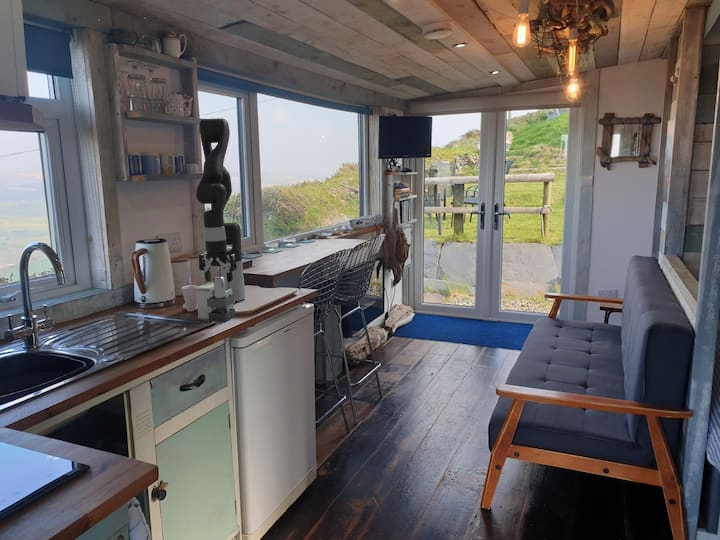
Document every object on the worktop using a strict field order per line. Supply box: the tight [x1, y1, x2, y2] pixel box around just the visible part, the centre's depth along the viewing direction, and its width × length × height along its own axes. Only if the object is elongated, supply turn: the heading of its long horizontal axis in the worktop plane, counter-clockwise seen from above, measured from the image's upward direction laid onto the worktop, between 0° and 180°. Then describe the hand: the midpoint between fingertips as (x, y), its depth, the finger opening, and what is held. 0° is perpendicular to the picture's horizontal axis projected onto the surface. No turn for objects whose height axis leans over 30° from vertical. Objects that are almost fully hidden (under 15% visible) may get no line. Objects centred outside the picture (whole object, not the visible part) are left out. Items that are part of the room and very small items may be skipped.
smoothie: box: [180, 275, 199, 312], centre depth 217 cm, size 6×6×14 cm
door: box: [212, 275, 235, 314], centre depth 206 cm, size 4×10×16 cm, turn 165°
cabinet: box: [196, 281, 236, 323], centre depth 207 cm, size 13×13×12 cm
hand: (219, 281), depth 202 cm, fingers open, 8 cm apart
